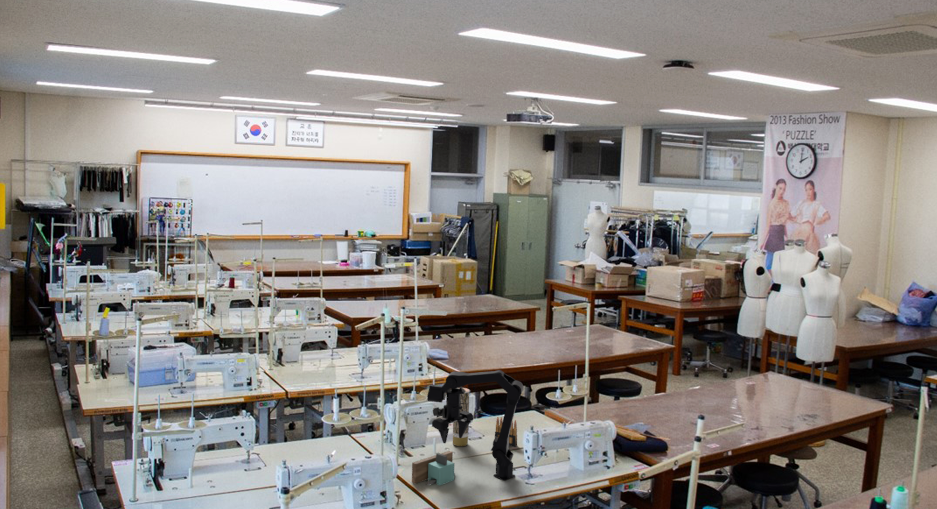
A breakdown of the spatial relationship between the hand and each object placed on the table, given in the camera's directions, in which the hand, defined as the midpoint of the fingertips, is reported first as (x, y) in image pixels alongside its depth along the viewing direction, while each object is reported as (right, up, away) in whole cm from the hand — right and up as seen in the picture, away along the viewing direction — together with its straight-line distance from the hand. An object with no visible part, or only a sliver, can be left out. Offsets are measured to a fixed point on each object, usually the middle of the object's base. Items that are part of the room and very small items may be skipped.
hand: (452, 440), depth 323 cm
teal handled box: (-4, -14, -8) cm, 17 cm away
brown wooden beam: (-6, -14, -6) cm, 16 cm away
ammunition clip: (+23, -10, +35) cm, 43 cm away
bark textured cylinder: (+3, -10, +32) cm, 34 cm away
